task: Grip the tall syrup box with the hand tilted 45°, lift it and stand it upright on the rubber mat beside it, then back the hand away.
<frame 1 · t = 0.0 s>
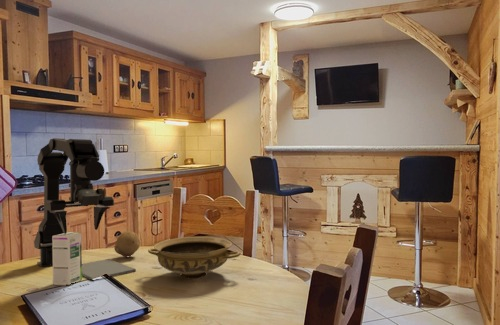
hand: (81, 231, 115), 15 cm above the table, tool pointing down, fingers open, 9 cm apart
natural sponge: (128, 257, 143), on the table
rubber mat: (101, 270, 126), on the table
ceramic bowl: (193, 276, 118), on the table
syrup box: (67, 283, 112), on the table
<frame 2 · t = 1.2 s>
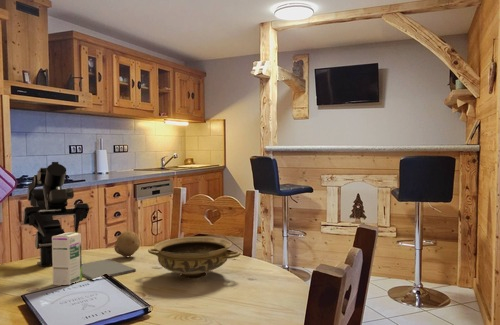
hand: (61, 234, 119), 13 cm above the table, tool tilted 45°, fingers open, 9 cm apart
nothing on the table moved.
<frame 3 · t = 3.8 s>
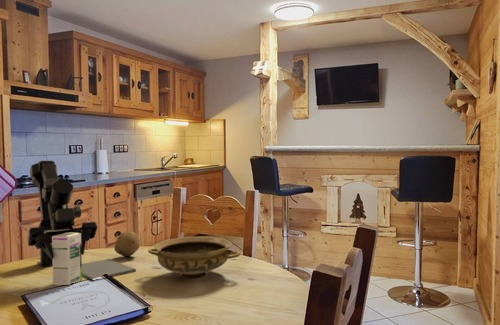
hand: (68, 256, 111), 8 cm above the table, tool tilted 45°, fingers closed on syrup box, 8 cm apart
syrup box: (67, 283, 112), on the table, touching gripper
everything else where it was.
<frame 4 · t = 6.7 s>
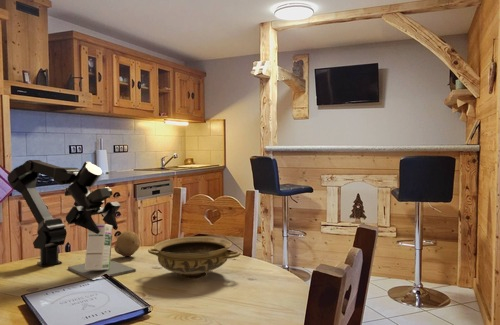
hand: (108, 230, 123), 13 cm above the table, tool tilted 45°, fingers open, 7 cm apart
syrup box: (96, 270, 120), point 1 cm above the table, touching rubber mat
everything else where it was.
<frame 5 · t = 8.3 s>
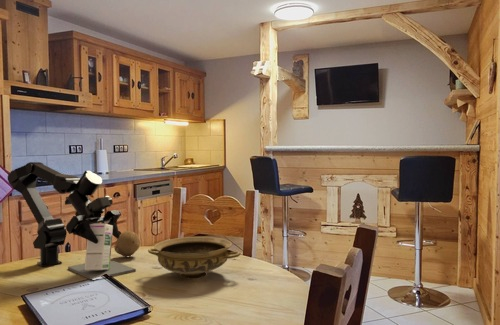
hand: (108, 240, 123), 10 cm above the table, tool tilted 45°, fingers open, 9 cm apart
syrup box: (96, 270, 120), point 1 cm above the table, touching gripper, rubber mat
everything else where it was.
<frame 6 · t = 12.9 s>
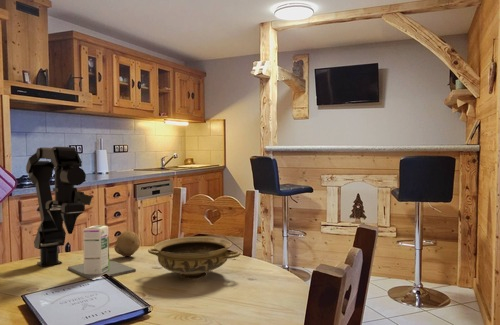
hand: (64, 232, 124), 13 cm above the table, tool pointing down, fingers open, 9 cm apart
syrup box: (96, 272, 120), point 1 cm above the table, touching rubber mat
everything else where it was.
at the end: syrup box inside the target area on the rubber mat (5.0 cm from its centre), point 0.6 cm above the rubber mat's base; syrup box tilted 0°; the gripper is holding nothing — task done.
